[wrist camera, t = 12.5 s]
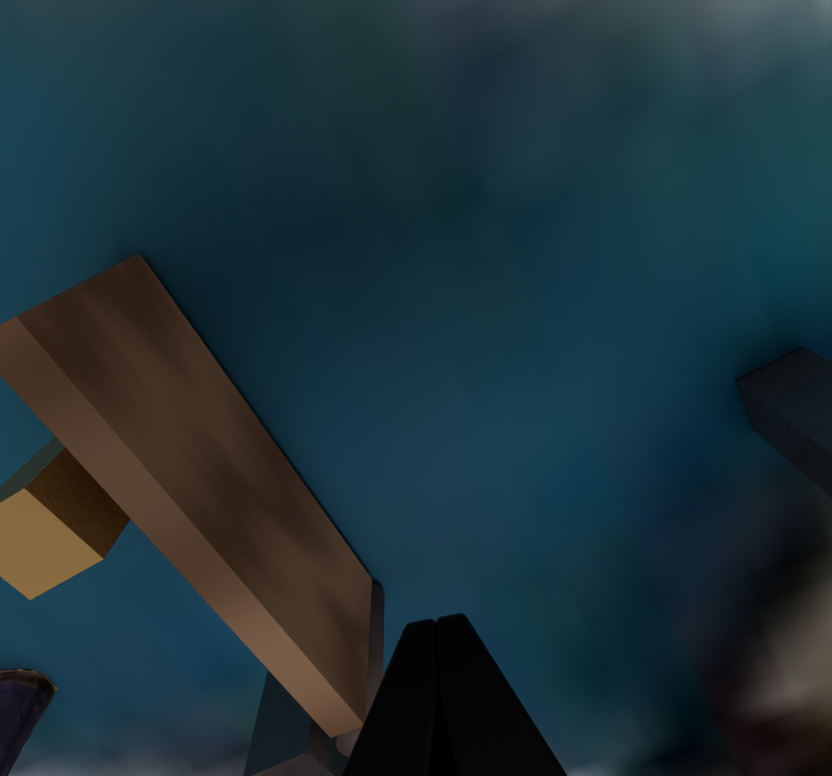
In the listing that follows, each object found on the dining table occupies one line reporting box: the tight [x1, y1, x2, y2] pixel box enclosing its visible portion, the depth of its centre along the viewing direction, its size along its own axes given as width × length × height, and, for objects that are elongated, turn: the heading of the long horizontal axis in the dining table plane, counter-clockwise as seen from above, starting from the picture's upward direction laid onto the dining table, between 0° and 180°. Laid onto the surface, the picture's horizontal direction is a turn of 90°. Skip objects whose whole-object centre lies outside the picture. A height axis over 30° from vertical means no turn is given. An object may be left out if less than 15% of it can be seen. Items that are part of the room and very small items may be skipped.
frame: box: [0, 347, 832, 776], centre depth 16 cm, size 22×13×7 cm, turn 121°
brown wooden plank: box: [0, 253, 385, 757], centre depth 17 cm, size 16×2×6 cm, turn 26°
